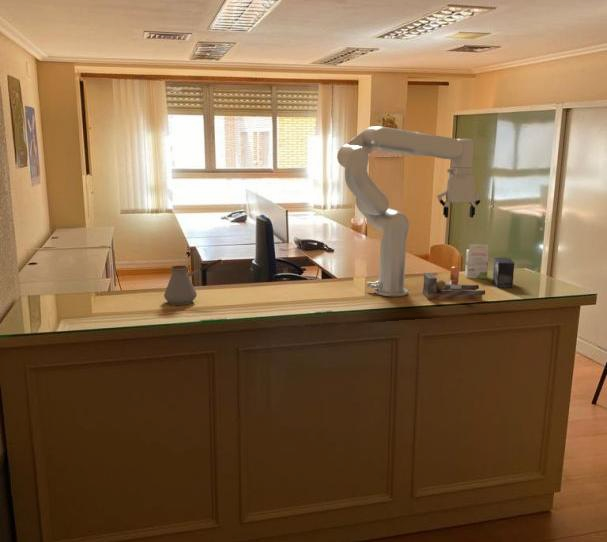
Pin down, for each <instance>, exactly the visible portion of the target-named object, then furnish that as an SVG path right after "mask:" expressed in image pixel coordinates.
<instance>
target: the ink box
mask: <svg viewBox="0 0 607 542" xmlns="http://www.w3.org/2000/svg"><path fill="white" fill-rule="evenodd" d="M479 247H480V248H479ZM465 253H466V254H465V268H464V269H465V271H464V276H465V278H467V279H488V270H489V256H490V255H489V254H490V253H489V244H488V243H487V244H484V243H482V244H481V243H470V244H468V249H466V252H465Z"/></svg>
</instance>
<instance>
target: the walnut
mask: <svg viewBox="0 0 607 542" xmlns="http://www.w3.org/2000/svg"><path fill="white" fill-rule="evenodd" d="M446 284H447V282H446V281H444V280H443V279H437V284H436V290H437V291H439V292H441V290H445V288H446Z"/></svg>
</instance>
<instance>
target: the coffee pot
mask: <svg viewBox="0 0 607 542" xmlns="http://www.w3.org/2000/svg"><path fill="white" fill-rule="evenodd" d="M220 262H221V264H222V265H224V263H223V260H222V259H221V258H220V259H217V260H215V261H212V262H210V263H207V264H205V265H204V266H202V267H200V268H198V269H196V270H193V271H191V272H190V273H188V269H190V268H189V266H188V265H173V266H171V267H169V269H170V270H171V272H172V273H171V275H170V279H169V281H168V283H167V286H166V289H165V291H164V294H163V296H164V299H165V300H166V301H167V302H168V303H169V304H170V305H172V306H186V305H190V304H191V303H192V302H193V301H195V299H197V294H198V293H197V291H196V289H195V287H194V285H193V282H192V280H191V278H190V277H191V276H193V275H195V274H197V273H199V272H201V271H204V270H206V269H208V268H211V267H213V266H214V265H217V264H218V263H220Z"/></svg>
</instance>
